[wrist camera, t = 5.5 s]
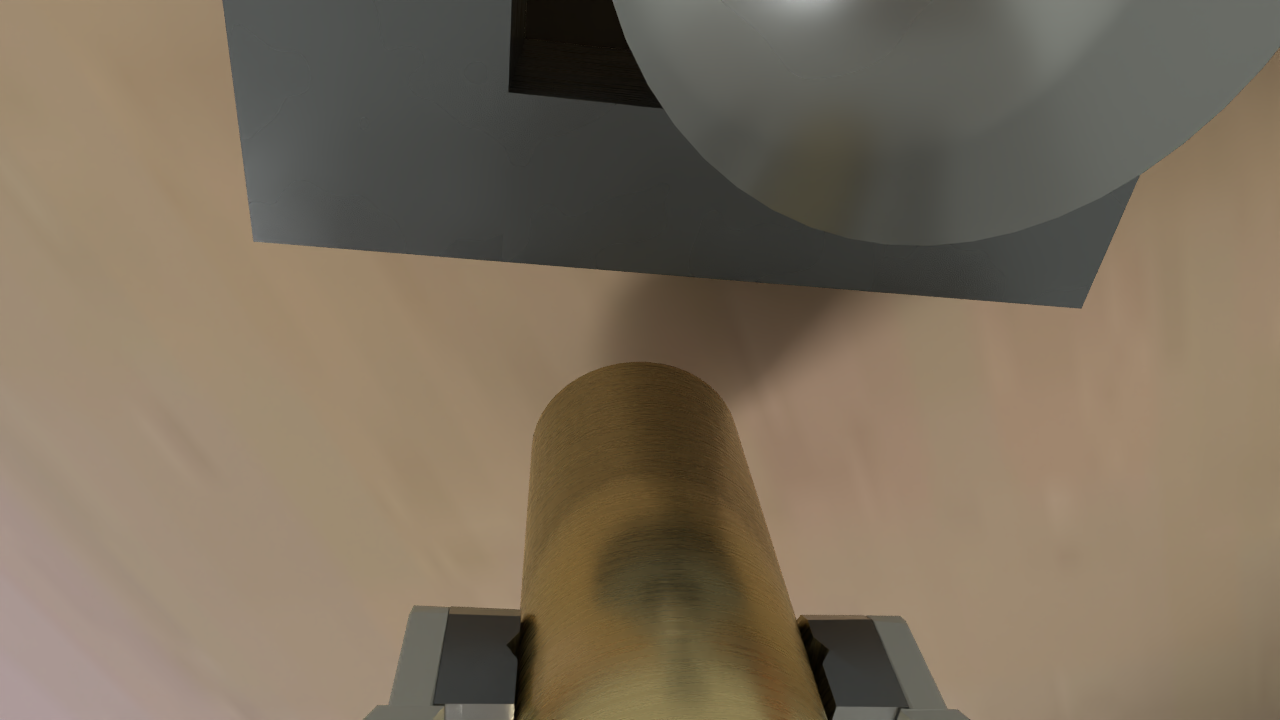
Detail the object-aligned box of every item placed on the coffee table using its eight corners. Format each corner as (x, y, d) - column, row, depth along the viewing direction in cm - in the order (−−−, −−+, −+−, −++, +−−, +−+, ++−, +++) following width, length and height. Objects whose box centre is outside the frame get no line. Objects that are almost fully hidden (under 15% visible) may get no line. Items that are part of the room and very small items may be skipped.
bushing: (720, 533, 17) (879, 1207, 8) (528, 527, 17) (477, 1233, 8) (753, 368, 15) (1007, 1016, 6) (536, 356, 15) (484, 1037, 6)
